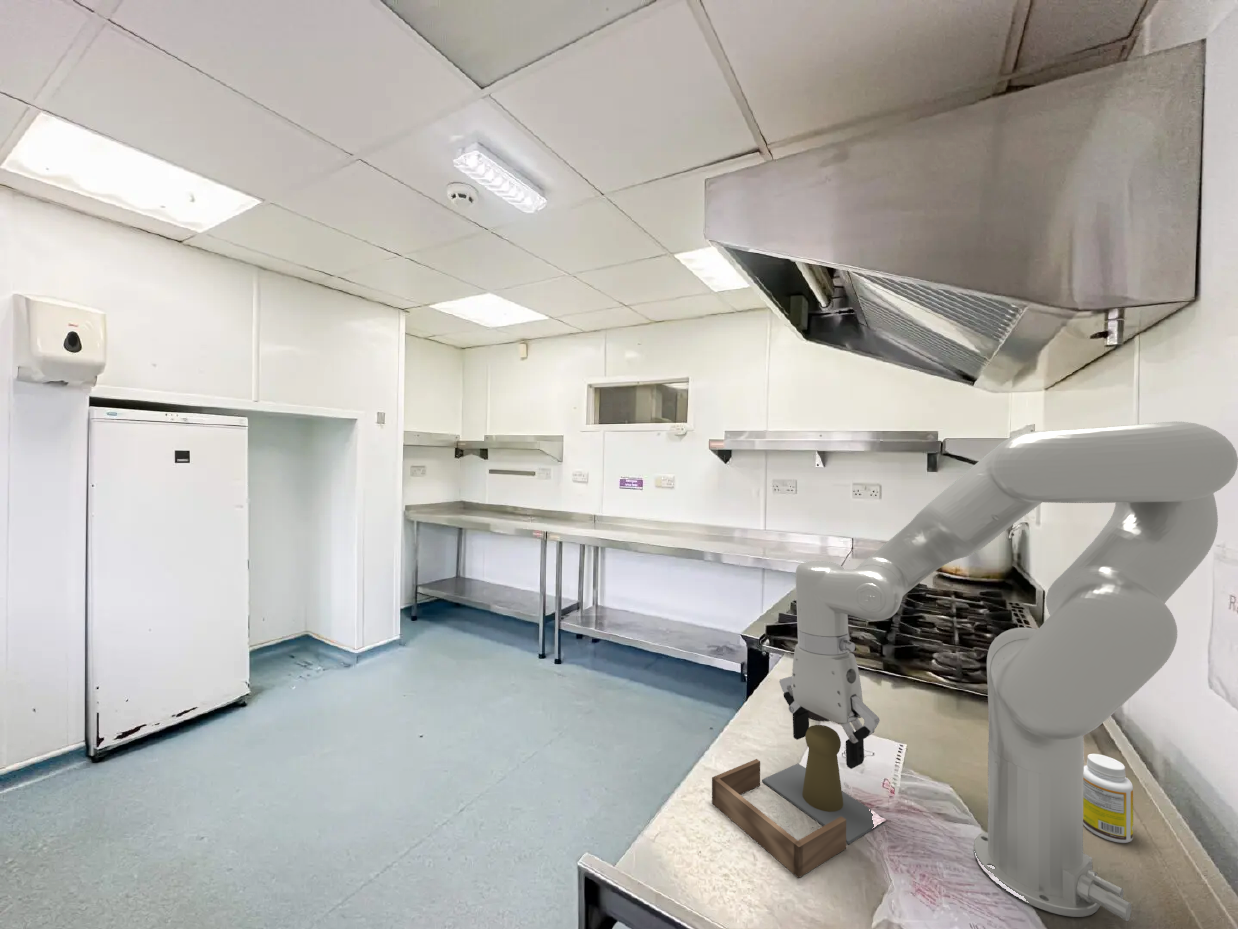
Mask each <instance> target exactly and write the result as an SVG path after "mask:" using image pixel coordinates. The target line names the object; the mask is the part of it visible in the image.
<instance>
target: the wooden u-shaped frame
mask: <svg viewBox="0 0 1238 929" xmlns="http://www.w3.org/2000/svg"><path fill="white" fill-rule="evenodd" d="M759 786H761V761H760V760H759V759H758V758H756V759H753V760H750V761H749V762H746V763H743V764H741V765H739V766H736V767H734V768H732V769H729V770H727V771H724V772H721V773H719V774H717V775H715V776H712V777H711V803H712V805H714V806H715V807H716V808H717V809H719V810H720V811H721V812H722V813H723V814H724V815H725V816H726V817H728V818H729V819H730V820H731V821H732V822H733V823H734V824H736V825H737V826H738V827H739V828H740V829H741V830H743V831H744V832H745V833H746V834H748V836H749V837H750V838H752V839H753V840H754V841H755V842H756V843H757V844H759V845H760V846H761V847H762V848H763V849H764V850H766V851H767V852H768V853H769V854H770V855H771V856H772V857H774V858H775V859H776V860H777V861H778V862H779V863H780V864H781V865H783V866H784V867H785V868H787V870H788V871H790V873H792V874H793V875H794V876H795V877H796V878H798V879H800V878H801V877H804V875H806V874H808V873H809V872H811V871H813V870H814V869H816V868H817V867H818V866H821V865H822V864H824V863H825V862H827V861H829V860H830V859H832V858H833V857H835V856H837V855H838V854H840V853H841V852H843V851H845V850H846V849H847V843H846V819H844V818H843V817H839V818H837V819H835V820H834V821H832V822H830V823H828V824H826V825H825V826H821V827H819V828H817V829H816V830H814V831H812V832H810V833H809V834H807V835H805V836H804V837H802V838H800V839H796V838H795V837H794V836H792V835H791V834H790V833H789V832H787V830H785V829H783V828H782V827H781V826H780V825H779V824H777V823H776V822H775V821H774V820H772V819H771V818H770V817H769V816H768V815H766V814H765V813H763V812H762V811H761V810H760V809H758V808H757V807H756V806H755V805H754V804H753V803H751V802H749V800H747V799H746V798H745V797H744V796H742V794H744V793H746V792H749V791H751V790H754V789H755V788H758V787H759Z"/></svg>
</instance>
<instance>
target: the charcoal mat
mask: <svg viewBox="0 0 1238 929" xmlns="http://www.w3.org/2000/svg"><path fill="white" fill-rule="evenodd" d="M805 772H806V767H805V766H803V765H802V764H800V763H796V764H793V765H792V766H791V765H790V766H789V767H787V768H785V769H783V770H780V771H778V772H775V773H774V774H772V775H770V776H767V777H765V778H763V779H761V782H762V783H763V784H765V785H766V786H767V787H769V788H770V789H772V791H774V792H775V793H777V794H778V795H779V796H781V797H782V798H784V799H785V800H786V801H788V802H789V803H790V804H792V805H793V806H795V807H796V808H798V809H799V810H800V811H802V812H803V813H804V814H805V815H807V816H808V817H811V819H813V820H814V821H815V822H817V823H818V824H819V825H821V827H823V826H825V825H826V824H828V823H830V822H832V821H834V820H835V819H837V818H839V817H843V818H844V819H846V845H847V844H848V845H850V844H851V843H854V842H855V841H856V840H858V839H859V838H861V837H863V836H865V835H866V834H868V833H870V832H871V831H873V830H872V828H873V827H874V824H873V820H872V816H873V814H872V813H871V808H870V807H868V806H867V805H865V804H863V803H862V802H860V801H859V800H857V799H856V798H854V797H852V796H851V795H849V794H848V793H846V792H845V791H843V790H842V797H843V807H842V808H841V809H840V810H838V811H835V812H827V811H822V810H819V809H816V808H814V807H812V806H811V805H809V804H808V803H807V802H806V801H805V800H804V798H803V795H802V792H803V785H804V778H805ZM869 809H870V811H869Z"/></svg>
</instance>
